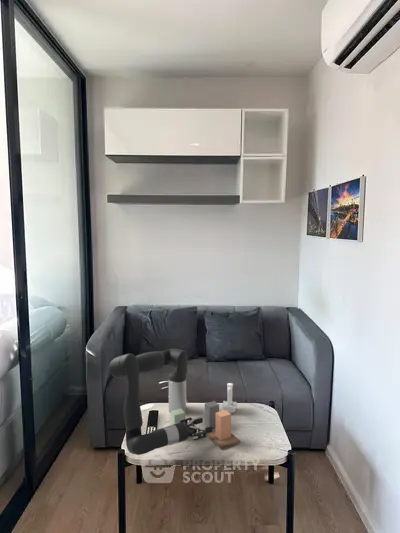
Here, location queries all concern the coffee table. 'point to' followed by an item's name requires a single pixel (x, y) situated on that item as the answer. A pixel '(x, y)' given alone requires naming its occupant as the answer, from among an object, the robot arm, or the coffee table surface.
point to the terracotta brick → (223, 425)
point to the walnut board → (223, 443)
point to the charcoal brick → (211, 413)
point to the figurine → (229, 400)
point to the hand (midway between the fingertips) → (207, 424)
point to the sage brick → (177, 416)
